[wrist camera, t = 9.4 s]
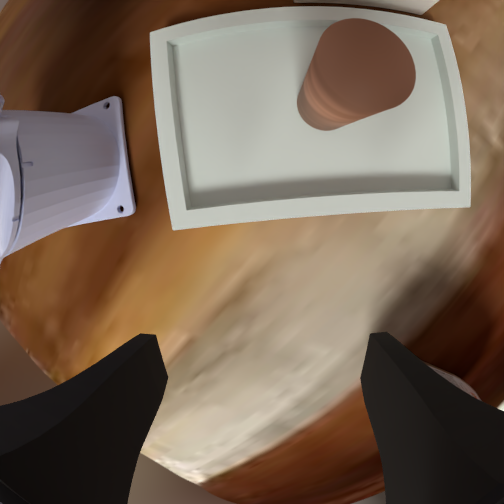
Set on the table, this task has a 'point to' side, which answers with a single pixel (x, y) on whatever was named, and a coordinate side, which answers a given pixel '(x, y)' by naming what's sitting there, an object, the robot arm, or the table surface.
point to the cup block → (384, 4)
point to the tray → (299, 122)
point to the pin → (355, 74)
